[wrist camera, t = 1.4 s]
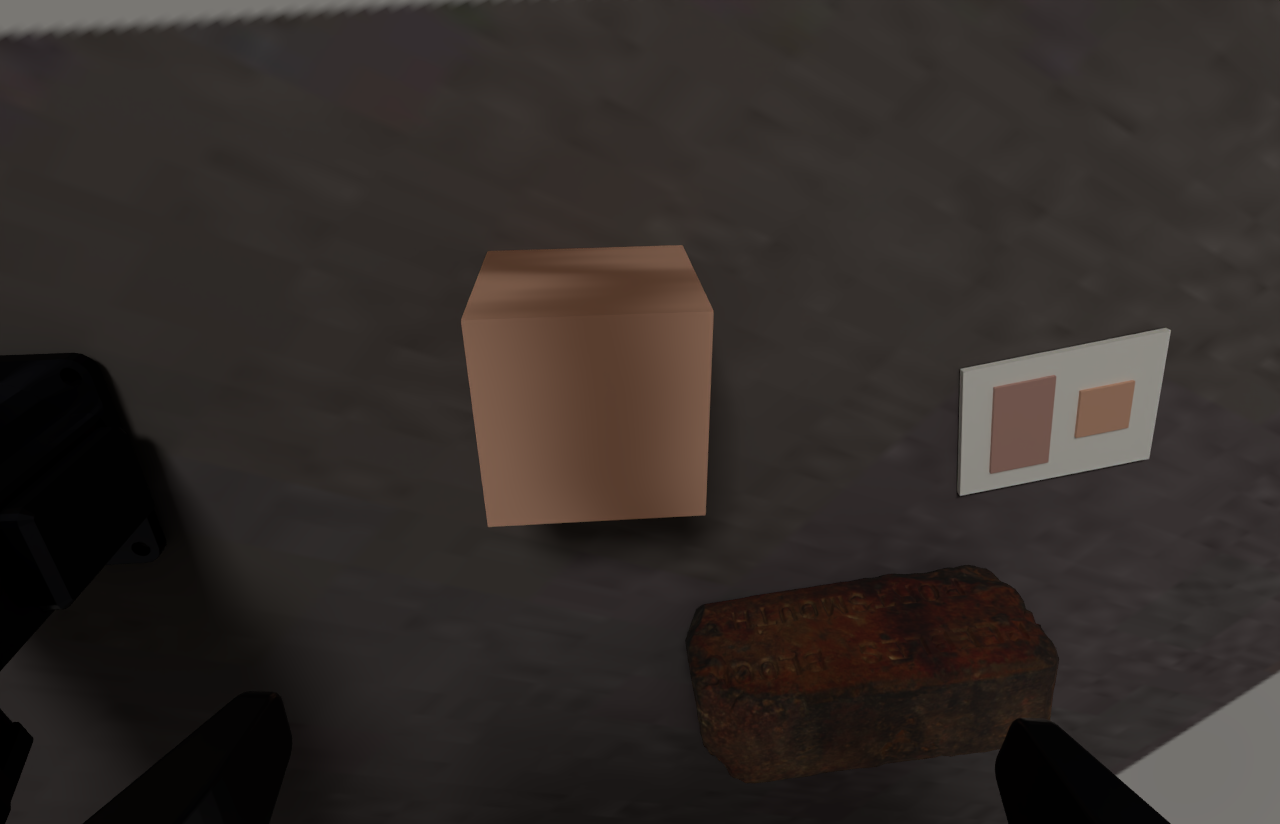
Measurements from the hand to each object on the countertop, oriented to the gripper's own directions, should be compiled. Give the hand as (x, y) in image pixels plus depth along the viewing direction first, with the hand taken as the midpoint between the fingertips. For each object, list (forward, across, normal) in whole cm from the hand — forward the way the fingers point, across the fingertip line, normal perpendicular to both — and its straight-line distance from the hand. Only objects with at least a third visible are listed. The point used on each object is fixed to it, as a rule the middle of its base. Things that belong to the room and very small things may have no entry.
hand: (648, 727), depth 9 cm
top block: (+13, +2, 0) cm, 13 cm away
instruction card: (+14, -13, +2) cm, 19 cm away
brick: (+13, -7, +11) cm, 19 cm away
